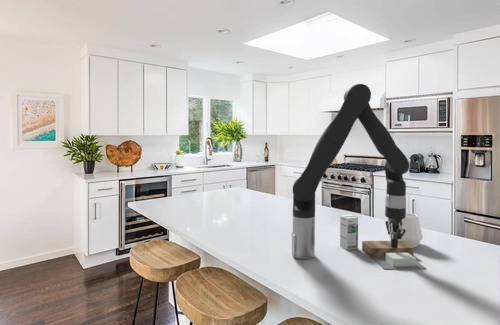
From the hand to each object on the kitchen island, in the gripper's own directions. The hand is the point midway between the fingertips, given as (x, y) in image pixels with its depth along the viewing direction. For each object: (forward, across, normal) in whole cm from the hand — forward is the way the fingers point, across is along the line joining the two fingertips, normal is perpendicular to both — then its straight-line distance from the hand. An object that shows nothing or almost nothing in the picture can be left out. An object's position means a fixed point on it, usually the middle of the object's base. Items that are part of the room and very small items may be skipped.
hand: (394, 247), depth 128 cm
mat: (+5, +4, 0) cm, 6 cm away
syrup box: (+5, -14, -14) cm, 20 cm away
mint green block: (+3, +4, 0) cm, 5 cm away
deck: (+5, -6, 0) cm, 8 cm away
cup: (+5, -18, +14) cm, 23 cm away
